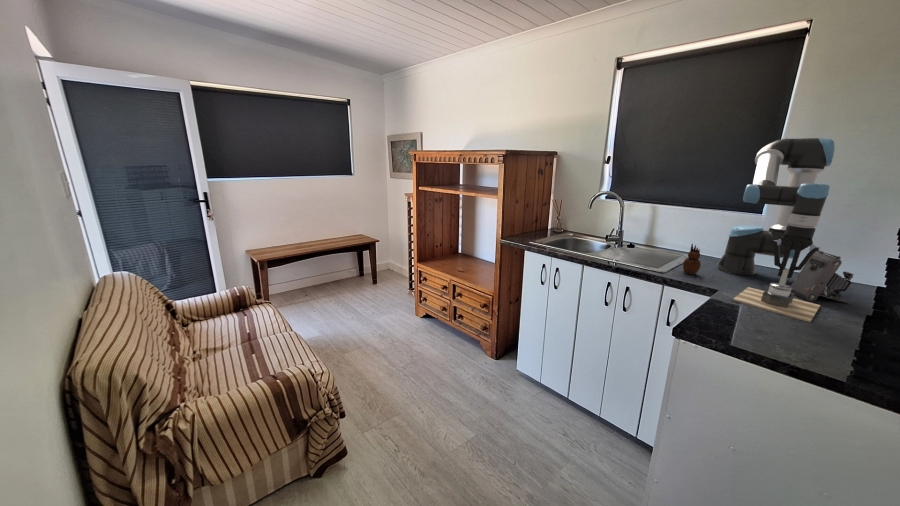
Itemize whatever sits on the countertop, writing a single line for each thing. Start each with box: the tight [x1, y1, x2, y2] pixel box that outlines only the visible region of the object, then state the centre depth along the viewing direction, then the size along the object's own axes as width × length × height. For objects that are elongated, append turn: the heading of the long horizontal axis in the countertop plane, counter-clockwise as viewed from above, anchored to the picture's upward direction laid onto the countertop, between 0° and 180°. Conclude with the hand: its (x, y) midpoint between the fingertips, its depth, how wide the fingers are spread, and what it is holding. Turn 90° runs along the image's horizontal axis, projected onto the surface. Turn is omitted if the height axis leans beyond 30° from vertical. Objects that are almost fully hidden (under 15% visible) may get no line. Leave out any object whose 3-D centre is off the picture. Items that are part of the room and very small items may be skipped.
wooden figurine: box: [682, 243, 702, 275], centre depth 163 cm, size 7×6×15 cm
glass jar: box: [768, 282, 793, 297], centre depth 131 cm, size 6×6×7 cm
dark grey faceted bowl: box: [761, 286, 796, 308], centre depth 131 cm, size 11×8×4 cm
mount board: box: [732, 286, 821, 323], centre depth 132 cm, size 22×22×1 cm
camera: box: [790, 250, 855, 305], centre depth 137 cm, size 11×17×20 cm, turn 79°
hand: (781, 284), depth 130 cm, fingers closed
